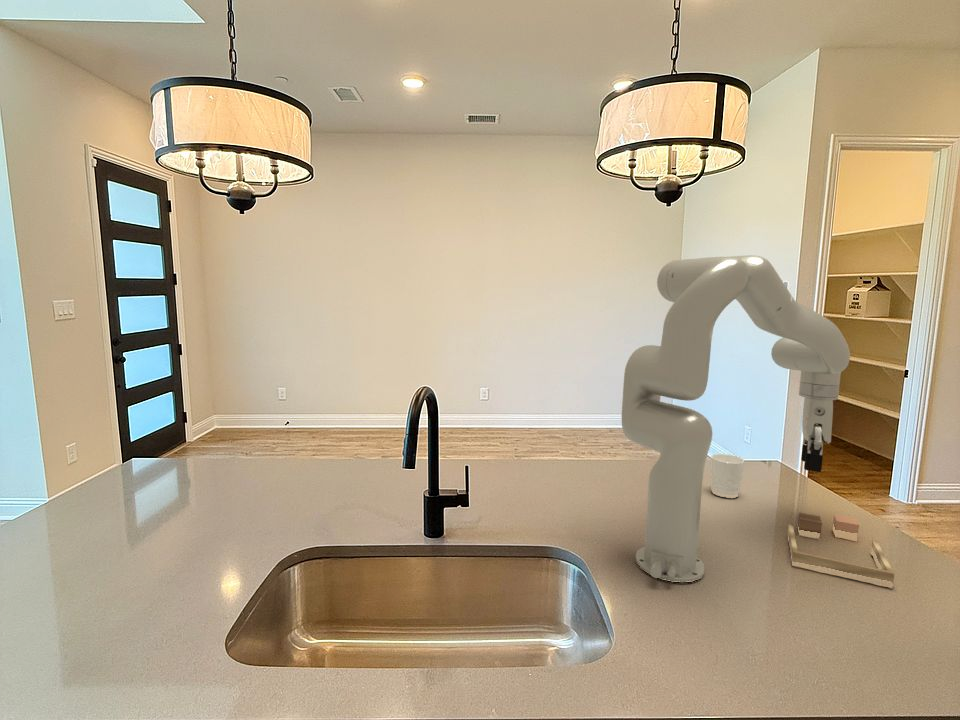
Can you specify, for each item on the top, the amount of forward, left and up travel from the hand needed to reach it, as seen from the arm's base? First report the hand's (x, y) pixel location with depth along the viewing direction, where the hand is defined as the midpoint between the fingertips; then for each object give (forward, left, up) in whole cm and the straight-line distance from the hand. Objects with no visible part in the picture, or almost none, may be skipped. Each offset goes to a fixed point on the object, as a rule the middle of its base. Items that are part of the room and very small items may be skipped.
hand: (810, 465), depth 117 cm
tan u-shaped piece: (-19, -3, -14) cm, 23 cm away
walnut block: (-8, 0, -14) cm, 16 cm away
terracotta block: (-5, -7, -14) cm, 16 cm away
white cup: (+8, +18, -14) cm, 24 cm away
